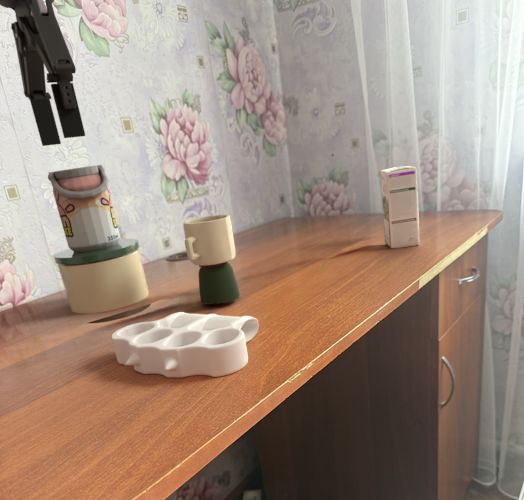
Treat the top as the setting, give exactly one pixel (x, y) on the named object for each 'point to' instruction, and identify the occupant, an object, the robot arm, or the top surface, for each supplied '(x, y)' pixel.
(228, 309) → the top surface
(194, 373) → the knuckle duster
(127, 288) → the jar
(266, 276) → the top surface
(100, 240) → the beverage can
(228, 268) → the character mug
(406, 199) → the syrup box
